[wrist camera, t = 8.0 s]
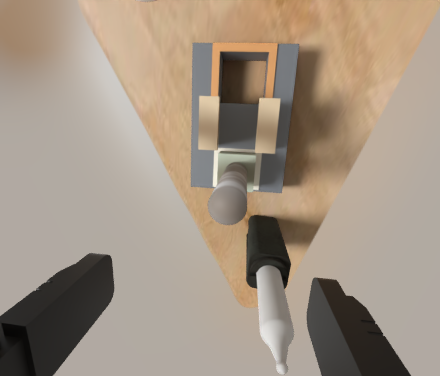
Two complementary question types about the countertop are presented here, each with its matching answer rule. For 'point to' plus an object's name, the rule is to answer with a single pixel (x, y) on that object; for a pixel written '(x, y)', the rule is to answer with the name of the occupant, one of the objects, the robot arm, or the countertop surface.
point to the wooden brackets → (265, 124)
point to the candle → (270, 284)
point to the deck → (242, 110)
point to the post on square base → (232, 186)
